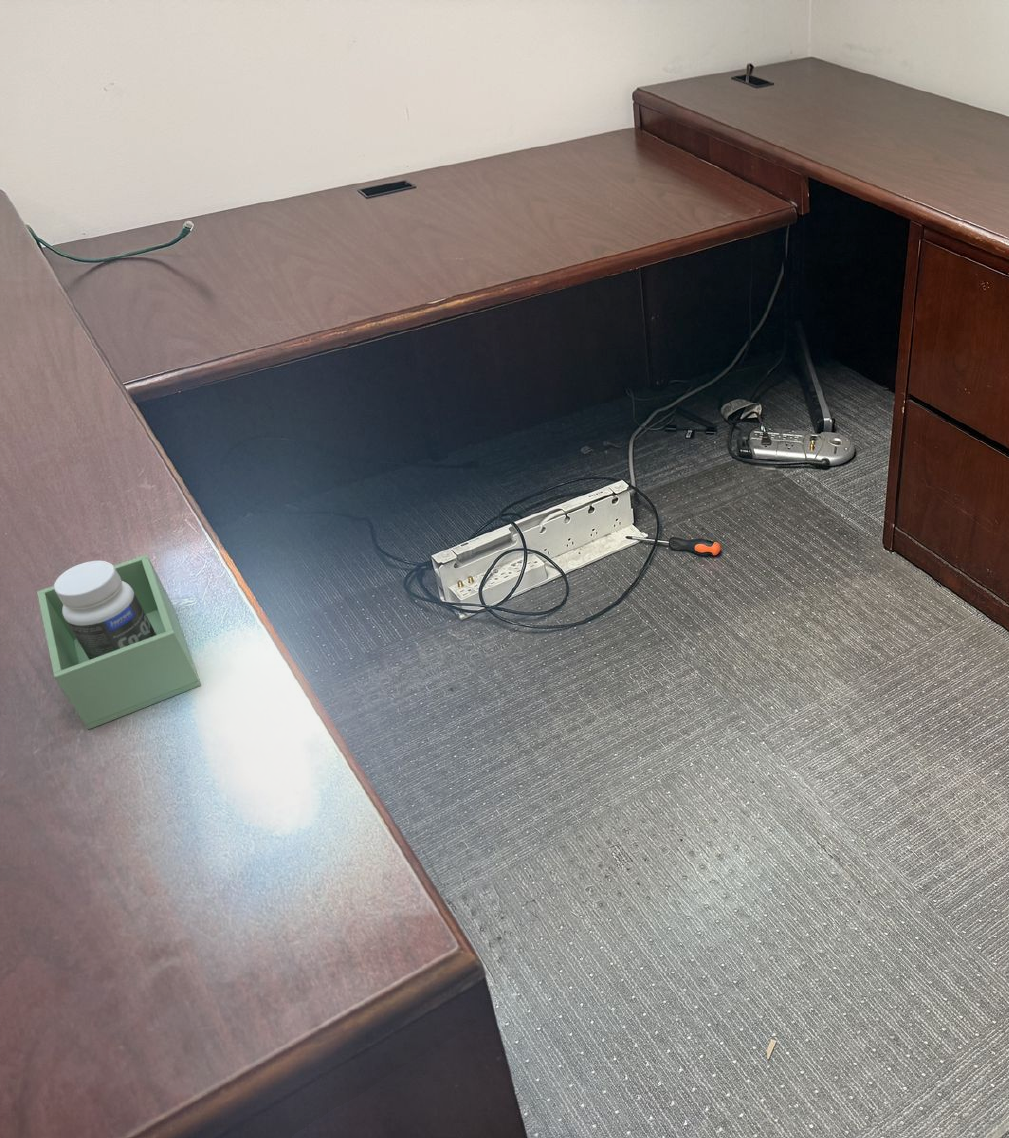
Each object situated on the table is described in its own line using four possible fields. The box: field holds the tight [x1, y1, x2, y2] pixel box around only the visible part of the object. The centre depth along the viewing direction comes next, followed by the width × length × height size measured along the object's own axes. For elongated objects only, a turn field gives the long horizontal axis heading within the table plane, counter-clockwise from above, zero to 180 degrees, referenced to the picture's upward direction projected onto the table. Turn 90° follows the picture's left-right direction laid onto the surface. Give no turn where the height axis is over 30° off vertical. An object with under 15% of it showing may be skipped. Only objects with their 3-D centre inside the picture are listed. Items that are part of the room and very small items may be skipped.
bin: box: [36, 554, 202, 730], centre depth 79 cm, size 11×8×6 cm
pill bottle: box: [53, 560, 156, 660], centre depth 77 cm, size 5×5×8 cm
